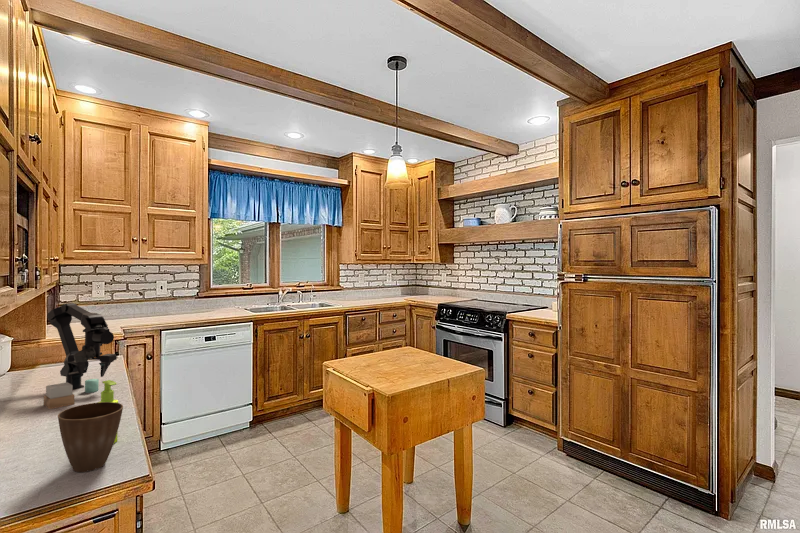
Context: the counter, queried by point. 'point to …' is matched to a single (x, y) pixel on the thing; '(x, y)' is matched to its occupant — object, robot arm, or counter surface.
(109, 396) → the soap dispenser
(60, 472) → the counter surface
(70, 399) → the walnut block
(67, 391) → the light grey block
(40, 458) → the counter surface
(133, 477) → the counter surface
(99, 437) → the plant pot
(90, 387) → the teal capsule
